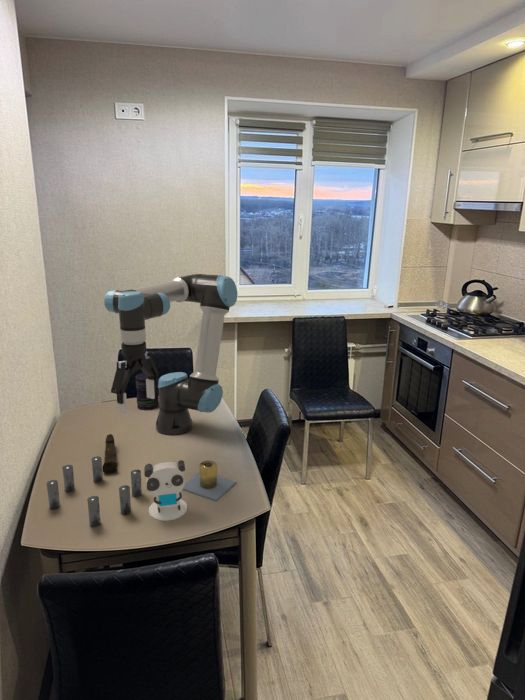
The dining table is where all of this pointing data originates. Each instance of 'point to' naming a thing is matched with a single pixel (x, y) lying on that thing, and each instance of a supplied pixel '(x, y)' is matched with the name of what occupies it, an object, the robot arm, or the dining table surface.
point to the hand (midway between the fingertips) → (137, 404)
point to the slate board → (213, 493)
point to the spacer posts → (94, 500)
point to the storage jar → (145, 393)
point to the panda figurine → (166, 490)
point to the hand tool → (110, 456)
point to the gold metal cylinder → (208, 474)
